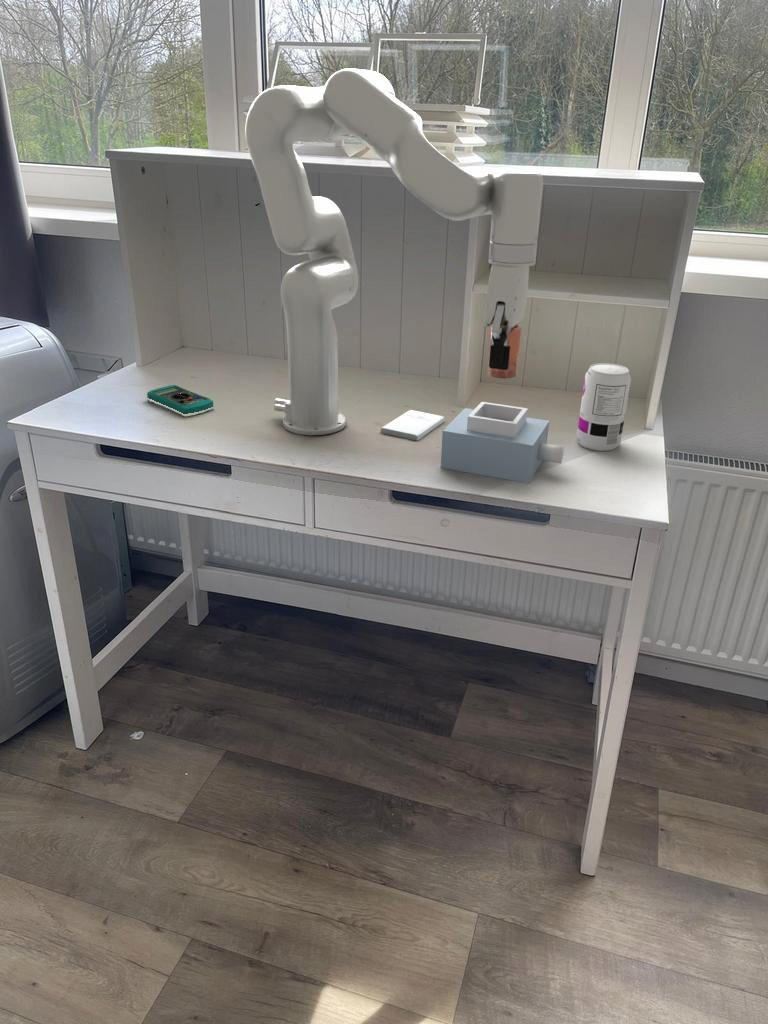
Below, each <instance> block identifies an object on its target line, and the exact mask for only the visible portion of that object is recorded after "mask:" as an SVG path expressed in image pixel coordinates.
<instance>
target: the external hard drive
mask: <svg viewBox="0 0 768 1024" xmlns="http://www.w3.org/2000/svg"><path fill="white" fill-rule="evenodd" d="M444 422H445V416H443V415H440V414H439V415H438V414H433V413H427V412H424V411H418V410H414V409H409V410H408V411H406V412H404V413H403V414H401V415H400V416H398V417H396V418H395V419H392V421H390V422H388V423H386V424H385V425H383V426H382V427H381V428H380V433H381V434H386V435H388V436H389V435H390V436H394V437H399V438H402V439H403V438H404V439H408V440H413V441H419V440H421V439H422V438H424V437H425V436H426V435H427V434H429V433H430V432H432V431H433V430H434V429H436V428H437V427H439V426H440V425H442V424H443V423H444Z"/></svg>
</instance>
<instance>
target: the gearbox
mask: <svg viewBox="0 0 768 1024" xmlns="http://www.w3.org/2000/svg"><path fill="white" fill-rule="evenodd" d="M528 411H529V408H526V407H521V406H514V405H513V406H512V405H508V404H500V403H493V402H487V401H481V402H480V403H479V404H478V405H477V406H476V407H475V408H473V409H472V408H466V407H465V408H463V409H462V410H461V411H460V412H459V413H458V415H456V416H455V417H454V419H452V421H451V422H450V423H449V424H448V425H447V426H446V427H445V428H444V429H443V430H442V435H441V453H440V454H441V455H440V468H442V469H448V470H452V471H458V472H463V473H470V474H474V475H481V476H485V477H491V478H496V479H504V480H508V481H515V482H519V483H525V484H530V482H531V481H532V479H533V478H534V477H535V474H536V472H537V470H539V467H540V466H541V464H542V463H543V461H544V462H549V463H555V464H556V463H557V464H561V463H562V462H563V458H564V454H565V446H564V445H557V444H549V443H548V435H549V428H550V427H549V426H550V420H546V419H539V418H533V417H528V413H529V412H528Z"/></svg>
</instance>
